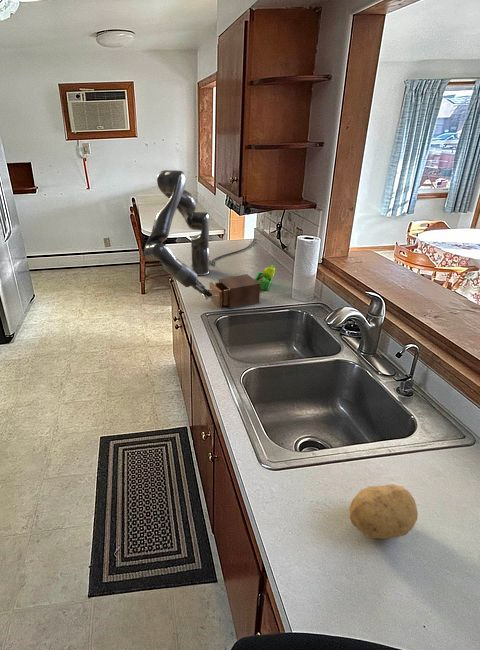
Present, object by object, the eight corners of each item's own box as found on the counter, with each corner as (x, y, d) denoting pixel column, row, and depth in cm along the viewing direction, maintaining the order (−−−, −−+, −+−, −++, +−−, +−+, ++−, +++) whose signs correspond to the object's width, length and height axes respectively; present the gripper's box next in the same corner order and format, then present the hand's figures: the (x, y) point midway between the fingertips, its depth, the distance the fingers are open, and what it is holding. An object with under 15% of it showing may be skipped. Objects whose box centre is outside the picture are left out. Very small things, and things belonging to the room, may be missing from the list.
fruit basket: (257, 281, 199) (258, 260, 194) (275, 283, 196) (276, 262, 192) (253, 290, 189) (254, 268, 185) (272, 292, 187) (273, 269, 182)
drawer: (207, 310, 170) (206, 294, 166) (197, 300, 180) (197, 284, 176) (247, 302, 175) (247, 286, 172) (235, 293, 185) (236, 278, 182)
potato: (332, 514, 82) (337, 487, 79) (387, 495, 85) (394, 469, 82) (366, 560, 73) (373, 532, 70) (425, 536, 77) (434, 509, 73)
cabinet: (229, 308, 172) (230, 288, 168) (218, 297, 183) (218, 278, 179) (259, 303, 176) (260, 283, 172) (246, 292, 187) (247, 274, 183)
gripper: (194, 272, 160) (222, 295, 168) (184, 262, 171) (210, 284, 179) (183, 286, 160) (210, 308, 169) (173, 275, 172) (199, 296, 180)
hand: (210, 295), depth 174 cm, fingers closed
